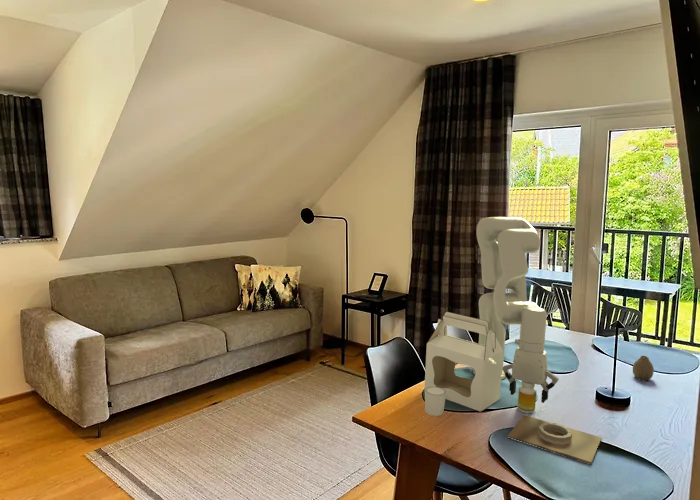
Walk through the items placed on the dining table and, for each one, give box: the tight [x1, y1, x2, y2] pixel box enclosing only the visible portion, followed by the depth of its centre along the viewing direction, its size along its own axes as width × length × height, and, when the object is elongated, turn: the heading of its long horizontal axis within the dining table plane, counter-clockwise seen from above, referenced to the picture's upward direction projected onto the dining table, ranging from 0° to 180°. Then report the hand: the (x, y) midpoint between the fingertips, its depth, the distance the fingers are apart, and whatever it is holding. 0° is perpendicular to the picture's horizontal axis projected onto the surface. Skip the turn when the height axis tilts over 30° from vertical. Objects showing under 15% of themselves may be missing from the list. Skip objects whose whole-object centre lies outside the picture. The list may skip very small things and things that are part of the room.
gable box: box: [424, 311, 503, 412], centre depth 168 cm, size 22×13×28 cm, turn 47°
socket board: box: [507, 414, 603, 465], centre depth 143 cm, size 22×16×3 cm
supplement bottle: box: [516, 381, 537, 414], centre depth 160 cm, size 5×5×10 cm
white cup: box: [424, 387, 447, 417], centre depth 157 cm, size 7×7×7 cm
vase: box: [632, 355, 655, 382], centre depth 189 cm, size 7×7×9 cm
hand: (528, 397), depth 160 cm, fingers open, 9 cm apart
